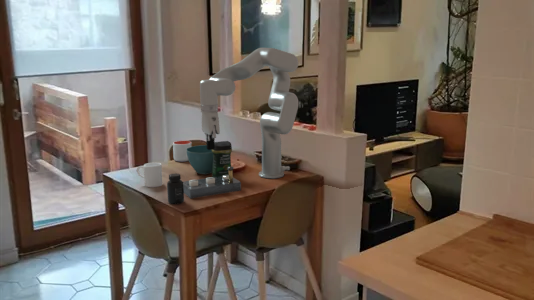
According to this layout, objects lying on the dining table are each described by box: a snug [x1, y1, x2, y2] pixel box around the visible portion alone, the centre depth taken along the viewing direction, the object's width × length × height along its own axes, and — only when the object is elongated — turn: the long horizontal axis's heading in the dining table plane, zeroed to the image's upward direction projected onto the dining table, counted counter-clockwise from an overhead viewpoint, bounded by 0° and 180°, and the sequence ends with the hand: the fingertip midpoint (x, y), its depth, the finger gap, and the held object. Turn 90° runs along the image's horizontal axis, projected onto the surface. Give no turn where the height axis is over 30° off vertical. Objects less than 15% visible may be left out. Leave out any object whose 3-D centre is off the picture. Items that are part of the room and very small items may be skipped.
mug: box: [136, 162, 163, 188], centre depth 245 cm, size 8×12×10 cm, turn 82°
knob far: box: [188, 179, 198, 187], centre depth 233 cm, size 4×4×5 cm
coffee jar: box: [211, 140, 233, 177], centre depth 253 cm, size 10×8×19 cm
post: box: [228, 165, 234, 183], centre depth 235 cm, size 3×3×7 cm
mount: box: [183, 175, 242, 199], centre depth 236 cm, size 24×13×6 cm, turn 118°
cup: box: [172, 140, 192, 163], centre depth 290 cm, size 10×10×10 cm
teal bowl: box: [186, 144, 213, 175], centre depth 266 cm, size 18×18×12 cm
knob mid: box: [206, 176, 215, 184], centre depth 236 cm, size 4×4×5 cm
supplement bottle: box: [166, 172, 185, 205], centre depth 220 cm, size 7×7×12 cm
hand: (210, 149), depth 233 cm, fingers closed
